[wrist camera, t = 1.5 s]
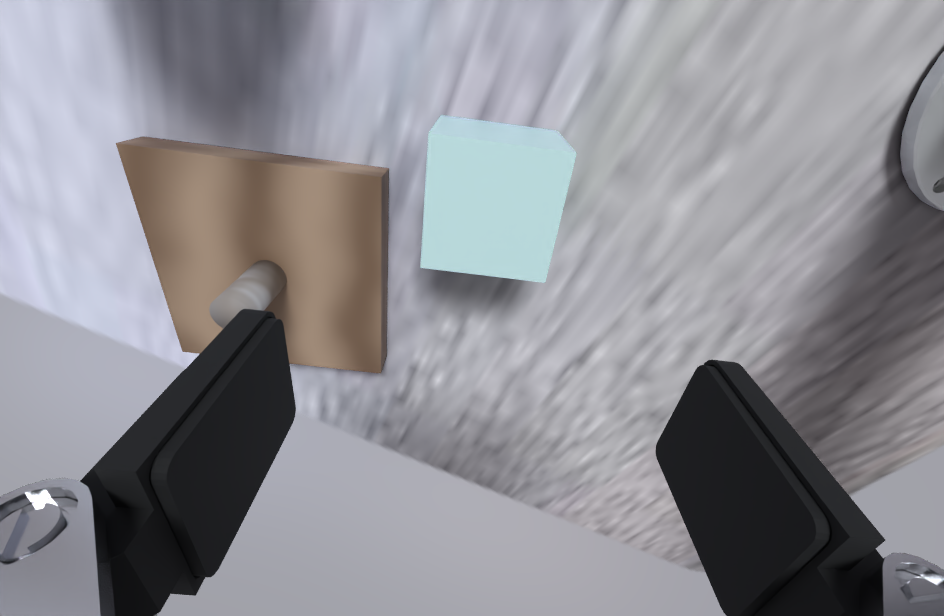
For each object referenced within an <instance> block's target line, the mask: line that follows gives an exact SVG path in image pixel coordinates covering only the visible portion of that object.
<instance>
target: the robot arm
mask: <svg viewBox="0 0 944 616" xmlns="http://www.w3.org/2000/svg"><path fill="white" fill-rule="evenodd" d="M900 158H901V165H902V172H903V175H904V177H905V179H906V182H907V184H908V186H909V188H910V189H911V190H912V192H913V193H914V194H915V195H916V196H917V197H918V198H919V199H920V200H921V201H923V202H925V203H926V204H928V205H930V206H932V207H934V208H935V209H938V210H942V211H944V51H943V52H942V54H941V55H940V56H939V58H938V59H937V61H936V63H935V64H934V66H933V67H932V69H931V70H930V72H929V73H928V75H927V76H926V78H925V79H924V81H923V82H922V84H921V86H920V88H919V91H918V93H917V95H916V97H915V99H914V101H913V103H912V105H911V107H910V109H909V113H908V116H907V119H906V122H905V126H904V129H903V132H902V141H901V150H900ZM295 411H296V407H295V400H294V393H293V386H292V379H291V372H290V366H289V359H288V352H287V345H286V338H285V332H284V325H283V322H282V320H280V319H276V317H275V315H274V313H273V312H271V311H262V310H253V309H242V310H241V311H240V312H239V313H238V314H237V315H236V316H235V317H234V318H233V319H232V320H231V321H230V322H229V323H228V324H227V325H226V327H225V328H224V329H223V330H222V331H221V332H220V333H219V334H218V335H217V336H216V337H215V338H214V339H213V341H212V342H211V343H210V344H209V345H208V346H207V347H206V348H205V349H204V350H203V351H202V352H201V353H200V354H199V356H198V357H197V358H196V359H195V360H194V361H193V362H192V363H191V364H190V365H189V366H188V367H187V368H186V369H185V370H184V371H183V372H182V373H181V374H180V375H179V376H178V377H177V378H176V379H175V380H174V381H173V382H172V383H171V384H170V385H169V387H168V388H167V389H166V390H165V391H164V392H163V393H162V394H161V395H160V396H159V397H158V398H157V400H156V401H155V402H154V403H153V404H152V405H151V406H150V407H149V408H148V409H147V410H146V411H145V412H144V414H142V415H141V417H140V418H139V419H138V420H137V421H136V422H135V423H134V424H133V425H132V426H131V427H130V428H129V429H128V430H127V432H126V433H125V434H124V435H123V436H122V437H121V438H120V439H119V440H118V441H117V442H116V443H115V445H113V447H112V448H111V449H110V450H109V451H108V452H107V453H106V454H105V455H104V456H103V457H102V458H101V460H99V462H98V463H97V464H96V465H95V466H94V467H93V468H92V469H91V470H90V471H89V472H88V473H87V474H86V475H85V477H84V478H83V479H82V480H81V481H78V480H73V479H68V478H58V479H46V480H42V481H39V482H35V483H32V484H28V485H25V486H22V487H20V488H18V489H16V490H14V491H11V492H9V493H7V494H4V495H2V496H1V497H0V616H157V613H159V612H160V611H161V609H162V607H163V606H164V604H165V602H166V600H167V599H168V597H169V595H170V594H183V595H196V594H197V592H198V590H199V588H200V586H201V584H202V582H203V580H204V579H205V577H212V576H213V575H214V574H215V573H216V571H217V570H218V569H219V567H220V565H221V563H222V561H223V559H224V557H225V555H226V553H227V551H228V549H229V547H230V545H231V543H232V541H233V539H234V538H235V536H236V534H237V532H238V530H239V528H240V526H241V524H242V522H243V520H244V518H245V516H246V514H247V512H248V510H249V507H250V506H251V504H252V502H253V500H254V498H255V496H256V494H257V492H258V490H259V488H260V486H261V484H262V482H263V480H264V478H265V477H266V474H267V472H268V471H269V469H270V467H271V465H272V463H273V461H274V459H275V457H276V455H277V453H278V451H279V449H280V447H281V445H282V443H283V441H284V439H285V437H286V435H287V433H288V431H289V429H290V427H291V425H292V423H293V421H294V417H295ZM656 457H657V460H658V462H659V465H660V467H661V469H662V472H663V474H664V476H665V479H666V481H667V483H668V486H669V488H670V490H671V493H672V495H673V497H674V500H675V502H676V504H677V507H678V509H679V511H680V513H681V516H682V518H683V520H684V523H685V525H686V527H687V530H688V532H689V534H690V537H691V539H692V541H693V544H694V546H695V548H696V551H697V553H698V555H699V558H700V560H701V562H702V565H703V567H704V569H705V572H706V574H707V576H708V578H709V581H710V583H711V586H712V588H713V590H714V593H715V595H716V597H717V599H718V602H719V604H720V606H721V608H722V610H723V612H724V613H725V614H726V615H727V616H944V570H943V569H941V568H940V567H938V566H937V565H935V564H933V563H930V562H928V561H926V560H924V559H922V558H920V557H917V556H913V555H909V554H906V553H892V554H890V555H888V556H887V557H885V558H884V559H883V558H882V557H881V555H880V554H879V553H878V552H877V550H876V548H877V547H878V546H879V545H880V544H882V543H883V542H884V541H885V539H884V538H883V537H882V535H881V534H880V533H879V532H878V531H877V529H876V528H875V527H874V526H873V524H872V523H871V522H870V521H869V520H868V519H867V517H866V516H865V515H864V514H863V512H862V511H861V510H860V509H859V508H858V506H857V505H856V504H855V503H854V501H852V499H851V498H850V497H849V495H848V494H847V493H846V492H845V491H844V489H843V488H842V487H841V486H840V485H839V483H838V482H837V481H836V480H835V478H834V477H833V476H832V475H831V474H830V472H829V471H828V470H827V469H826V468H825V466H824V465H823V464H822V463H821V462H820V460H819V459H818V458H817V457H816V455H815V454H814V453H813V452H812V451H811V449H810V448H809V447H808V446H807V445H806V443H805V442H804V441H803V440H802V438H801V437H800V436H799V435H798V434H797V432H796V431H795V430H794V429H793V428H792V426H791V425H790V424H789V423H788V422H787V420H786V419H785V418H784V417H783V415H782V414H781V413H780V412H779V411H778V409H777V408H776V407H775V406H774V405H773V403H772V402H771V401H770V400H769V399H768V397H767V396H766V395H765V394H764V392H763V391H762V390H761V389H760V388H759V386H758V385H757V384H756V383H755V382H754V380H753V379H752V378H751V377H750V376H749V374H748V373H747V372H746V371H745V369H744V368H743V367H742V366H741V365H740V364H738V363H735V362H727V361H718V360H708V361H707V362H705V364H704V365H701V366H699V367H698V368H697V369H696V370H695V372H694V374H693V376H692V378H691V380H690V382H689V384H688V385H687V387H686V389H685V391H684V393H683V395H682V397H681V399H680V401H679V402H678V404H677V406H676V408H675V410H674V412H673V414H672V416H671V418H670V419H669V421H668V423H667V425H666V427H665V429H664V431H663V433H662V435H661V436H660V438H659V440H658V442H657V445H656Z"/></svg>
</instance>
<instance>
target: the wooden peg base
mask: <svg viewBox="0 0 944 616" xmlns="http://www.w3.org/2000/svg"><path fill="white" fill-rule="evenodd" d="M116 145H117V148H118V151H119V155H120V158H121V161H122V164H123V167H124V170H125V173H126V176H127V180H128V183H129V186H130V189H131V192H132V195H133V198H134V201H135V205H136V208H137V211H138V214H139V217H140V220H141V223H142V226H143V230H144V233H145V236H146V239H147V242H148V245H149V248H150V251H151V255H152V258H153V261H154V264H155V267H156V270H157V273H158V276H159V280H160V283H161V286H162V289H163V292H164V295H165V298H166V301H167V305H168V308H169V311H170V314H171V317H172V320H173V323H174V326H175V330H176V333H177V336H178V339H179V342H180V345H181V348H182V351H183V352H191V353H201V352H202V351H203V350H204V349H205V348H206V347H207V346H208V345H209V344H210V343H211V342H212V341H213V339H214V338H215V337H216V336H217V335H218V334H219V333H220V332H221V331H222V330H223V329H224V328H225V327H226V325H227V324H228V323H229V322H230V321H231V320H232V319H233V318H234V317H235V316H236V315H237V314H238V313H239V312H240V311H241V310H242V309H253V310H262V311H271V312H273V313H274V315H275V317H276V319H280V320H282V322H283V325H284V332H285V338H286V345H287V352H288V359H289V363H291V364H300V365H309V366H318V367H327V368H336V369H345V370H354V371H363V372H372V373H381V371H382V368H383V365H384V362H385V359H386V356H387V280H388V198H389V168H382V167H374V166H367V165H359V164H351V163H343V162H336V161H328V160H320V159H312V158H305V157H297V156H289V155H282V154H274V153H266V152H258V151H251V150H243V149H235V148H227V147H220V146H212V145H204V144H196V143H189V142H181V141H173V140H166V139H158V138H150V137H139V138H135V139H131V140H127V141H123V142H119V143H116Z"/></svg>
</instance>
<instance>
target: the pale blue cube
mask: <svg viewBox="0 0 944 616" xmlns="http://www.w3.org/2000/svg"><path fill="white" fill-rule="evenodd" d="M576 154H577V153H576V151H575V150H574V149H573V148H572V147H571V146H570V145H569V143H568V142H567V141H566V140H565V139H564V138H563V137H562V135H561V134H560V133H559V132H558V131H556V130H549V129H541V128H534V127H527V126H519V125H512V124H504V123H497V122H490V121H482V120H475V119H467V118H460V117H452V116H445V115H441V116H440V117H439V119H438V120H437V122H436V123H435V124H434V126H433V127H432V129H431V130H430V132H429V133H428V149H427V166H426V183H425V200H424V216H423V233H422V250H421V267H420V268H427V269H435V270H443V271H451V272H460V273H468V274H476V275H485V276H493V277H501V278H510V279H518V280H526V281H534V282H543V283H545V281H546V277H547V273H548V269H549V265H550V261H551V257H552V253H553V249H554V244H555V240H556V236H557V232H558V228H559V224H560V220H561V216H562V212H563V207H564V203H565V199H566V195H567V191H568V187H569V183H570V179H571V175H572V170H573V166H574V162H575V158H576Z"/></svg>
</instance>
